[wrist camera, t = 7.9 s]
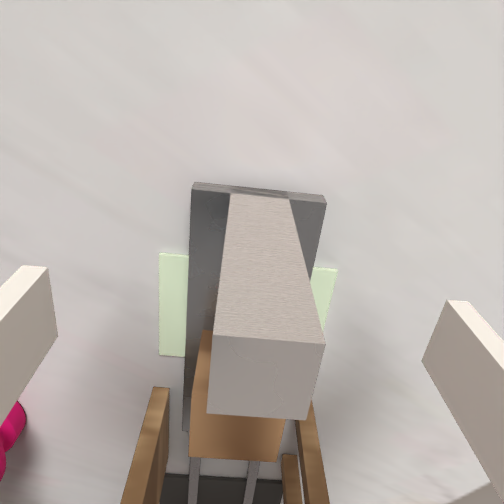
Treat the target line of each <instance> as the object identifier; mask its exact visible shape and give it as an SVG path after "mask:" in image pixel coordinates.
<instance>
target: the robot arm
mask: <svg viewBox="0 0 504 504" xmlns="http://www.w3.org/2000/svg"><path fill="white" fill-rule="evenodd" d="M57 337H58V331H57V325H56V318H55V312H54V305H53V298H52V292H51V285H50V278H49V272H48V267H38V266H26V265H22V266H21V267H20V268H19V269H18V270H17V271H16V272H15V273H14V274H13V275H12V276H11V277H10V278H9V279H8V280H7V281H6V282H5V283H4V284H3V285H2V286H1V287H0V426H1V425H2V423H3V422H4V420H5V419H6V417H7V415H8V414H9V412H10V411H11V409H12V408H13V406H14V404H15V403H16V401H17V400H18V398H19V397H20V395H21V393H22V392H23V390H24V389H25V387H26V386H27V384H28V382H29V381H30V379H31V378H32V376H33V375H34V373H35V371H36V370H37V368H38V367H39V365H40V364H41V362H42V360H43V359H44V357H45V356H46V354H47V353H48V351H49V349H50V348H51V346H52V345H53V343H54V342H55V340H56V338H57ZM422 363H423V365H424V366H425V368H426V370H427V372H428V373H429V375H430V377H431V379H432V380H433V382H434V384H435V385H436V387H437V389H438V391H439V392H440V394H441V396H442V398H443V399H444V401H445V403H446V405H447V406H448V408H449V410H450V412H451V413H452V415H453V417H454V418H455V420H456V422H457V424H458V425H459V427H460V429H461V431H462V432H463V434H464V436H465V438H466V439H467V441H468V443H469V445H470V446H471V448H472V450H473V451H474V453H475V455H476V457H477V458H478V460H479V462H480V464H481V465H482V467H483V469H484V471H485V472H486V474H487V476H488V478H489V479H490V481H491V483H492V484H493V486H494V488H495V490H496V491H497V493H498V495H499V497H500V498H501V500H502V502H503V503H504V341H503V340H502V339H501V338H500V337H499V336H498V334H497V333H496V332H495V331H494V330H493V329H492V328H491V327H490V325H489V324H488V323H487V322H486V321H485V320H484V319H483V318H482V317H481V315H480V314H479V313H478V312H477V311H476V310H475V309H474V308H473V306H472V305H471V304H470V303H469V302H467V301H454V300H446V303H445V305H444V308H443V310H442V312H441V315H440V317H439V320H438V322H437V324H436V327H435V329H434V332H433V334H432V336H431V339H430V341H429V344H428V346H427V349H426V351H425V353H424V356H423V358H422Z"/></svg>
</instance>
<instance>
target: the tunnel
mask: <svg viewBox="0 0 504 504" xmlns="http://www.w3.org/2000/svg"><path fill="white" fill-rule="evenodd" d="M295 425H296V433H297V442H298V450H299V458H300V467H301V475H302V483H303V491H304V500H305V504H330V502H329V496H328V490H327V484H326V479H325V473H324V467H323V462H322V456H321V450H320V444H319V439H318V433H317V427H316V422H315V416H314V410H313V405H312V399H311V403H310V407H309V411H308V415H307V418H306V420H295ZM168 451H169V388H161V387H153V390H152V393H151V397H150V400H149V404H148V408H147V411H146V415H145V418H144V422H143V425H142V429H141V432H140V436H139V439H138V443H137V447H136V450H135V454H134V457H133V461H132V464H131V468H130V471H129V475H128V478H127V482H126V486H125V489H124V493H123V496H122V500H121V503H120V504H159V501H160V496H161V491H162V486H163V481H164V476H165V471H166V466H167V460H168ZM281 472H282V485H283V499H284V504H303V503H302V495H301V486H300V477H299V469H298V460H297V455H288V454H283V456H282V460H281Z"/></svg>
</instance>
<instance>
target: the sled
mask: <svg viewBox="0 0 504 504" xmlns="http://www.w3.org/2000/svg"><path fill="white" fill-rule="evenodd" d="M326 205H327V202H326V200H325V198H324V196H323V195H316V194H306V193H297V192H287V191H277V190H268V189H258V188H249V187H239V186H230V185H220V184H210V183H201V182H194V184H193V187H192V190H191V215H190V241H189V266H188V292H187V317H186V343H185V369H184V394H183V420H182V431H190V416H191V397H192V389H193V383H194V377H195V371H196V365H197V359H198V353H199V347H200V341H201V335H202V330H211V331H213V337H212V350H211V362H210V374H209V387H208V399H207V412H206V413H208V414H222V415H236V416H250V417H264V418H278V419H292V420H306V418H307V415H308V411H309V407H310V403H311V399H312V395H313V391H314V387H315V384H316V380H317V376H318V372H319V368H320V364H321V360H322V356H323V353H324V349H325V345H326V343H325V339H324V335H323V332H322V328H321V324H320V320H319V316H318V312H317V308H316V304H315V300H314V296H313V292H312V288H311V284H310V280H311V276H312V271H313V266H314V262H315V257H316V252H317V247H318V243H319V238H320V233H321V229H322V224H323V219H324V215H325V210H326Z"/></svg>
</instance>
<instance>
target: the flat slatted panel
mask: <svg viewBox="0 0 504 504" xmlns="http://www.w3.org/2000/svg"><path fill="white" fill-rule="evenodd" d="M246 482H247V479H243V478H227V477H211V476H199V481H198V494H197V504H243V500H244V494H245V488H246ZM188 492H189V475H178V474H165V476H164V481H163V486H162V491H161V496H160V501H159V504H188ZM282 494H283V485H282V481H275V480H259V479H257V480H256V486H255V491H254V496H253V501H252V504H280V502H281V498H282Z"/></svg>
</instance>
